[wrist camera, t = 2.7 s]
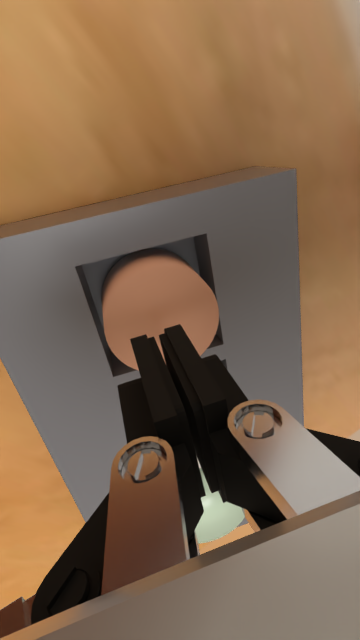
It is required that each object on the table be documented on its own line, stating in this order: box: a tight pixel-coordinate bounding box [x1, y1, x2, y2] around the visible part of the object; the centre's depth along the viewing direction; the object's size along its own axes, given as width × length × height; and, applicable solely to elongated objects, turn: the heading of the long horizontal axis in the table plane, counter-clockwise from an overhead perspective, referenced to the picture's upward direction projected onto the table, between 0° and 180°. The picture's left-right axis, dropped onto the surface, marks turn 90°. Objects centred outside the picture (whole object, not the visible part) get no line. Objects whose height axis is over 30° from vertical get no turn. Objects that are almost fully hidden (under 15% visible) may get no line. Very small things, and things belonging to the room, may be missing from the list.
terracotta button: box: [101, 249, 219, 371], centre depth 16 cm, size 5×5×3 cm
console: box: [0, 166, 304, 527], centre depth 20 cm, size 14×22×4 cm, turn 11°
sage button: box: [195, 468, 245, 543], centre depth 21 cm, size 5×5×3 cm
